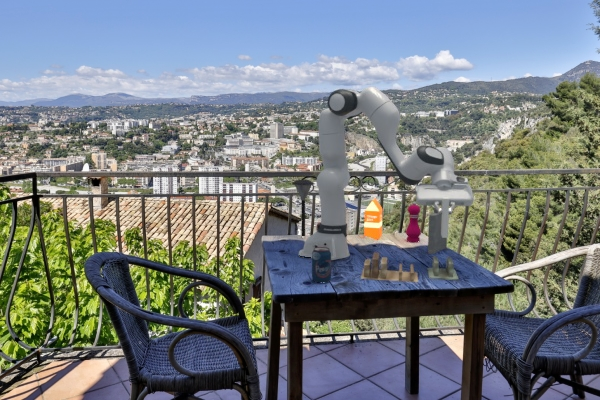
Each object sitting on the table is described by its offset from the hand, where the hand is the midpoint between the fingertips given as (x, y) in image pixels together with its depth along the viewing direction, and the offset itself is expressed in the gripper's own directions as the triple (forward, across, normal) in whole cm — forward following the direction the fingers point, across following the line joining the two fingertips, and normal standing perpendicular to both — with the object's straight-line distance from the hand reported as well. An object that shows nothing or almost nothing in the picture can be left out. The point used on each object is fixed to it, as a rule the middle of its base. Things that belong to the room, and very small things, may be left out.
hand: (445, 213), depth 165 cm
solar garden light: (-22, -65, +55) cm, 88 cm away
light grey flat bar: (+6, 0, +6) cm, 8 cm away
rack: (+21, -20, +13) cm, 31 cm away
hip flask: (-13, 0, +47) cm, 49 cm away
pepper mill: (-25, -10, +59) cm, 65 cm away
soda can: (+26, -44, +8) cm, 51 cm away
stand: (+17, 0, +17) cm, 24 cm away
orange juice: (-29, -30, +62) cm, 75 cm away
